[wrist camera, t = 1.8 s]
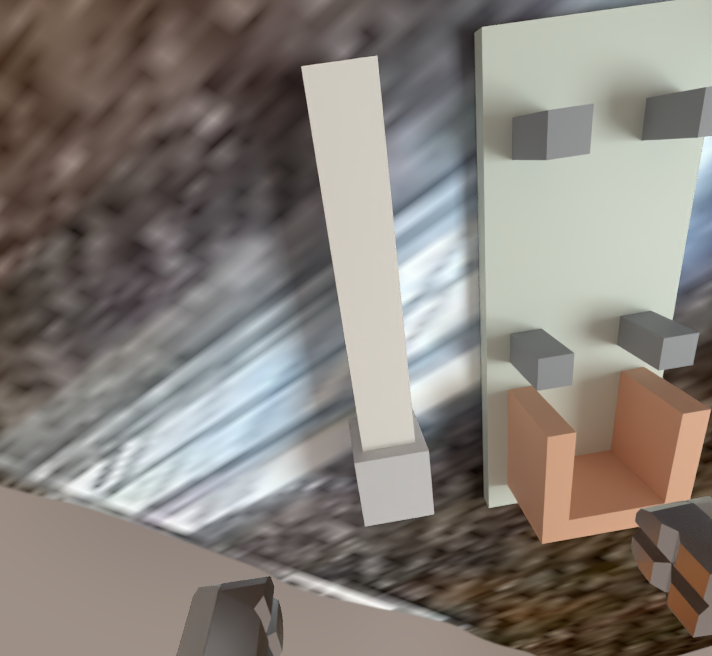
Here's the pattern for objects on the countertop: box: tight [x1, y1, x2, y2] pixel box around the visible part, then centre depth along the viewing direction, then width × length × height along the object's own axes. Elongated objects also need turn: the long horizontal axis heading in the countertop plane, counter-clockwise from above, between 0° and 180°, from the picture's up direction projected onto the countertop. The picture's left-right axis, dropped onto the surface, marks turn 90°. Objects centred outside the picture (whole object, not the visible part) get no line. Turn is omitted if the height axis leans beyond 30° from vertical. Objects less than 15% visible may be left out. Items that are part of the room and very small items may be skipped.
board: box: [474, 0, 712, 544], centre depth 23 cm, size 30×12×6 cm, turn 8°
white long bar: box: [301, 56, 434, 526], centre depth 23 cm, size 25×4×4 cm, turn 8°
